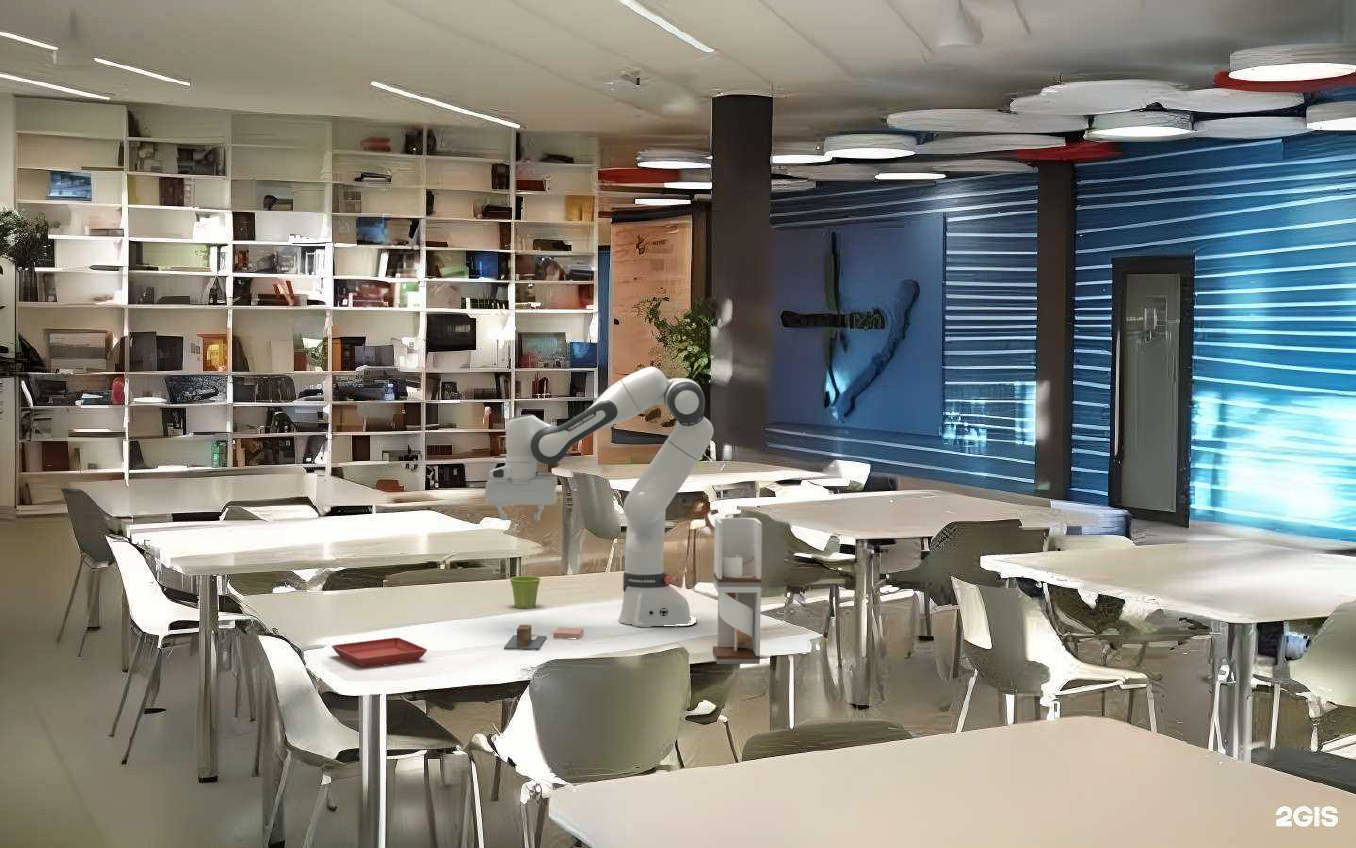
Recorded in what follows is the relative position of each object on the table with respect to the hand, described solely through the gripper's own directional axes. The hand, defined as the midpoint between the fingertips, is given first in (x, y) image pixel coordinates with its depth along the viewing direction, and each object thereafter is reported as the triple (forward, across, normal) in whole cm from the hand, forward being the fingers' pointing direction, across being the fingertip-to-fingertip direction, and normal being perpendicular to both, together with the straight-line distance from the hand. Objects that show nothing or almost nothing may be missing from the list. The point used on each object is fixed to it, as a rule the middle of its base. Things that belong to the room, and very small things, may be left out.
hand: (520, 520), depth 390 cm
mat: (+29, -6, +29) cm, 42 cm away
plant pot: (+29, +2, -25) cm, 39 cm away
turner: (+29, -6, +29) cm, 41 cm away
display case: (+29, -61, +43) cm, 80 cm away
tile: (+29, -16, +22) cm, 40 cm away
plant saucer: (+30, +27, +51) cm, 65 cm away
